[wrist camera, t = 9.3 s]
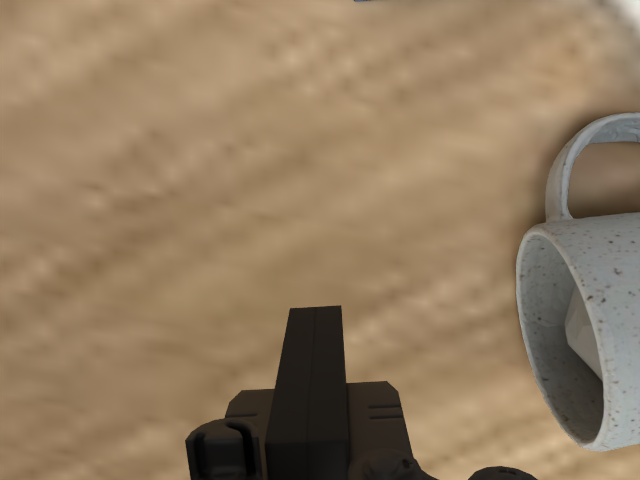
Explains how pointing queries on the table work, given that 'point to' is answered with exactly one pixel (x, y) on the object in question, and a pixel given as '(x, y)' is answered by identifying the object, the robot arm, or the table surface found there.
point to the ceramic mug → (585, 305)
